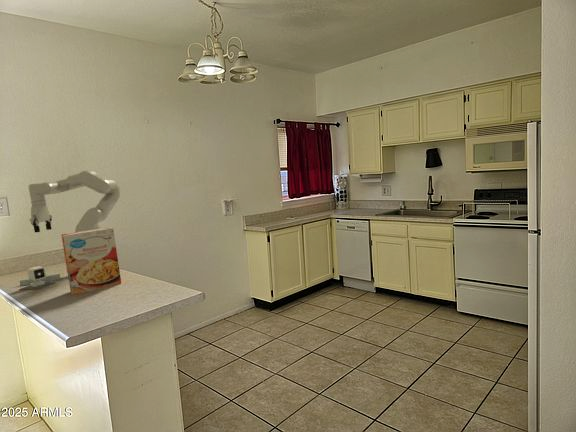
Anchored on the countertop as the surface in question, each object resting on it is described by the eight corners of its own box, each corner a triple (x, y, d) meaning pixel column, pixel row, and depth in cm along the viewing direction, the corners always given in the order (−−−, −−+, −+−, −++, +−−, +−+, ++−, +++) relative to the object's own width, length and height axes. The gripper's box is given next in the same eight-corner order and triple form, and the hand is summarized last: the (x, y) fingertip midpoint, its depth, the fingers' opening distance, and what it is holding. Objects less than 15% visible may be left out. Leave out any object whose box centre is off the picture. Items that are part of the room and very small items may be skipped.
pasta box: (73, 295, 192) (63, 235, 188) (70, 291, 198) (61, 234, 195) (121, 283, 205) (113, 228, 202) (117, 281, 212) (109, 227, 208)
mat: (55, 282, 221) (54, 281, 221) (38, 289, 210) (38, 288, 209) (36, 283, 223) (36, 282, 223) (19, 290, 211) (19, 289, 211)
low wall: (60, 278, 230) (59, 273, 230) (60, 279, 229) (59, 274, 229) (20, 285, 222) (19, 280, 222) (20, 285, 221) (19, 280, 221)
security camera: (35, 287, 212) (32, 269, 211) (29, 286, 216) (26, 268, 215) (47, 283, 217) (44, 266, 216) (41, 282, 221) (38, 265, 220)
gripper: (43, 202, 247) (48, 229, 249) (22, 205, 230) (27, 233, 232) (54, 201, 246) (58, 228, 248) (33, 204, 229) (38, 232, 231)
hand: (43, 230), depth 240 cm, fingers open, 9 cm apart
